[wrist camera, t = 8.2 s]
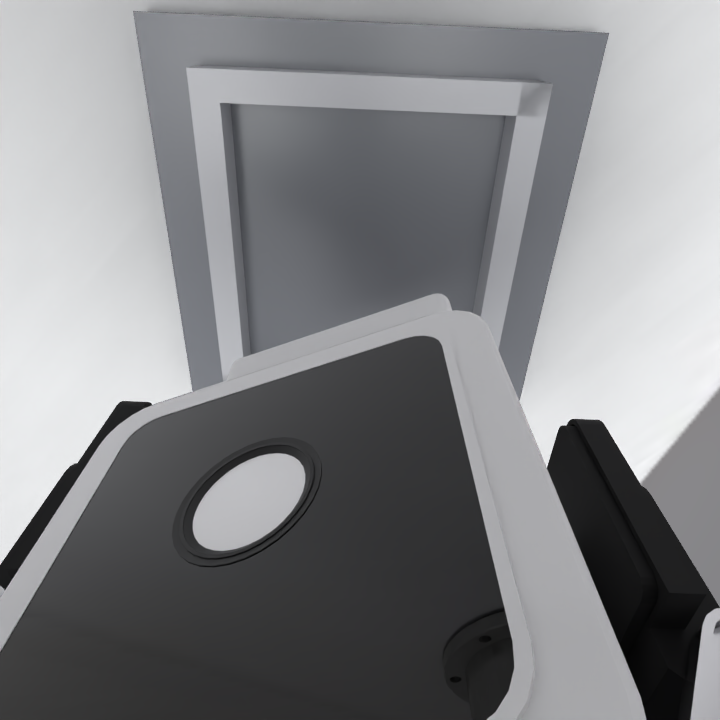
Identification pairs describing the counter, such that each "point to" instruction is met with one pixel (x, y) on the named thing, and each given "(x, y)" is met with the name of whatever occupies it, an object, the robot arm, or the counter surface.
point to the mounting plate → (360, 172)
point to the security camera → (319, 550)
